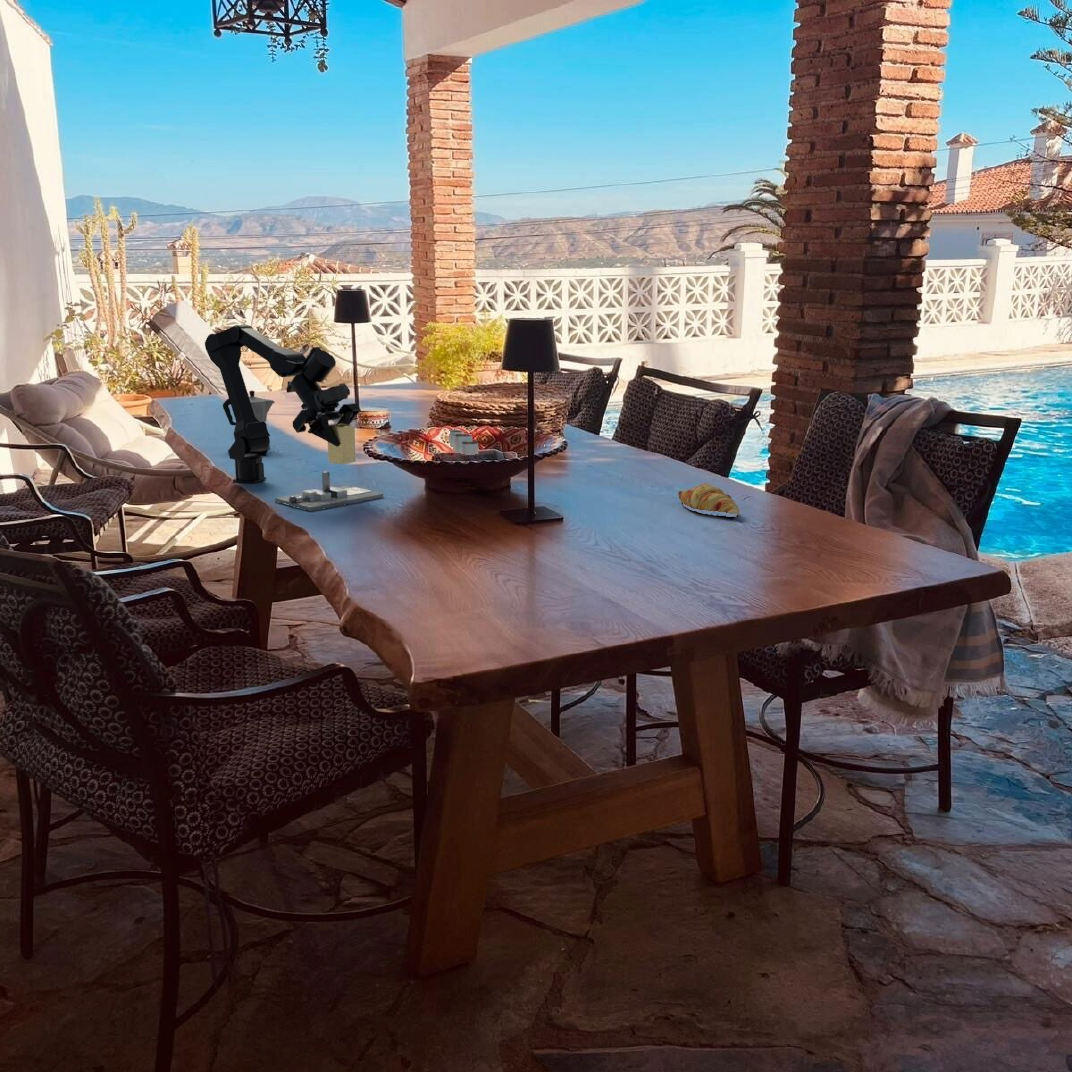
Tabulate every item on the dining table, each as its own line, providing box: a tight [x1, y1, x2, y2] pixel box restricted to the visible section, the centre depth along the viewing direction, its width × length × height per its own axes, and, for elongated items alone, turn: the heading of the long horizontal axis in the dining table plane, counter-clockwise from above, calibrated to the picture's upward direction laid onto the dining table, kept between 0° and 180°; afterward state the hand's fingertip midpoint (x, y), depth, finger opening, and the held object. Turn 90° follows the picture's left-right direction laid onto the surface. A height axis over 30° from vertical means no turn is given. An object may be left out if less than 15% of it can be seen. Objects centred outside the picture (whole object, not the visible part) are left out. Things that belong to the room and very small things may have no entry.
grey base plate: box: [274, 471, 384, 512], centre depth 253 cm, size 14×23×7 cm, turn 138°
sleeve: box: [327, 423, 356, 465], centre depth 253 cm, size 5×5×9 cm
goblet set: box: [445, 428, 479, 455], centre depth 279 cm, size 28×6×13 cm, turn 22°
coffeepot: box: [222, 390, 276, 450], centre depth 319 cm, size 15×9×18 cm, turn 103°
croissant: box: [678, 482, 740, 515], centre depth 248 cm, size 21×10×8 cm, turn 32°
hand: (345, 444), depth 252 cm, fingers closed on sleeve, 5 cm apart
